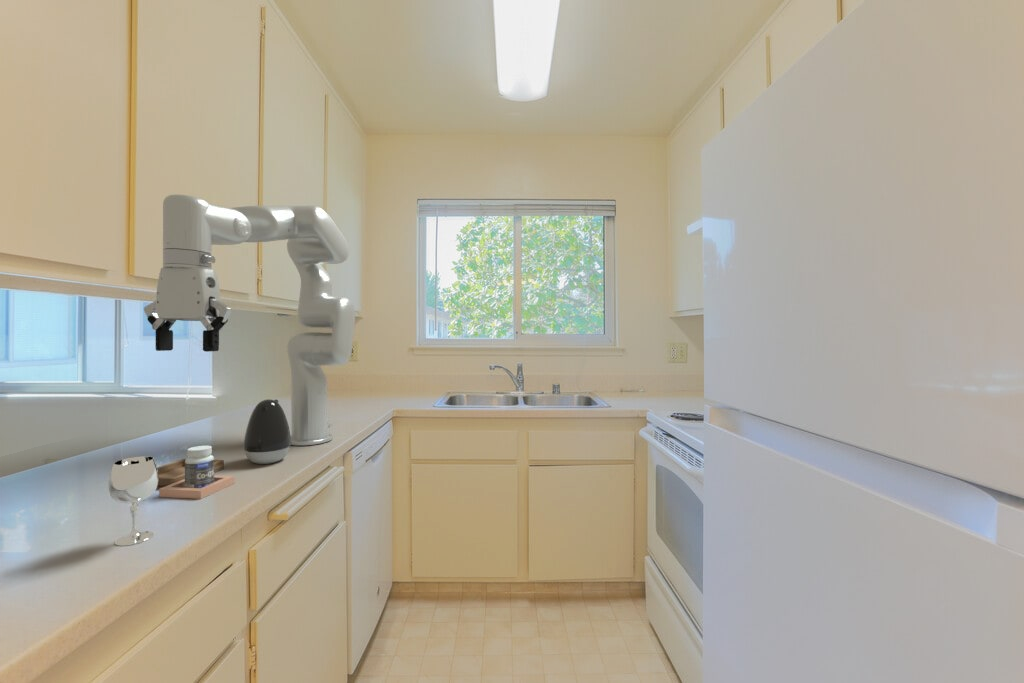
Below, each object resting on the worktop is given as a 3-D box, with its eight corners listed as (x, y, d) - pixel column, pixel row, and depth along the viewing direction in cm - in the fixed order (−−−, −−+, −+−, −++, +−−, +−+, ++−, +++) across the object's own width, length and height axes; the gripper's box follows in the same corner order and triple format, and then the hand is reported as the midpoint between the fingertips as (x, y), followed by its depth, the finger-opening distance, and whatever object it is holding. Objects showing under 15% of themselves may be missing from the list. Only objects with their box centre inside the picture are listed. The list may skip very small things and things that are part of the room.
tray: (183, 467, 101) (183, 458, 101) (223, 468, 100) (223, 460, 100) (129, 486, 88) (129, 476, 88) (175, 488, 87) (175, 478, 87)
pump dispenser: (297, 454, 112) (297, 396, 112) (281, 466, 102) (281, 402, 102) (255, 455, 111) (255, 396, 111) (235, 468, 101) (235, 402, 100)
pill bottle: (198, 494, 84) (198, 451, 84) (178, 492, 85) (178, 450, 85) (219, 486, 89) (219, 445, 89) (200, 484, 90) (200, 444, 90)
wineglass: (135, 529, 69) (135, 454, 69) (168, 531, 69) (168, 456, 69) (97, 546, 64) (97, 465, 63) (133, 549, 63) (132, 467, 63)
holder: (195, 481, 91) (195, 474, 91) (234, 483, 91) (234, 476, 91) (159, 496, 83) (159, 489, 83) (200, 498, 82) (200, 490, 82)
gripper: (243, 265, 87) (243, 350, 87) (163, 265, 88) (163, 349, 88) (214, 258, 79) (214, 352, 79) (127, 259, 81) (127, 350, 81)
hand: (187, 350), depth 84 cm, fingers open, 9 cm apart
